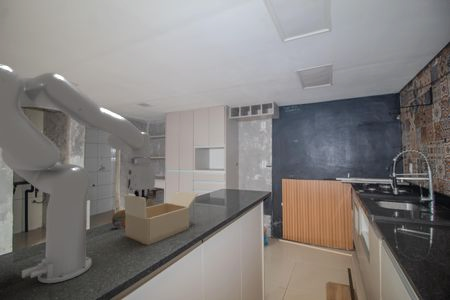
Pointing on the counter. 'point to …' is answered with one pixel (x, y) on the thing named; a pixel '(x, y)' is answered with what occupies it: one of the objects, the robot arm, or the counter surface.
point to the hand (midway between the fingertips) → (141, 205)
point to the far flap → (183, 199)
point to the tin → (119, 219)
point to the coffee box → (155, 197)
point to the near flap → (135, 206)
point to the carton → (157, 223)
